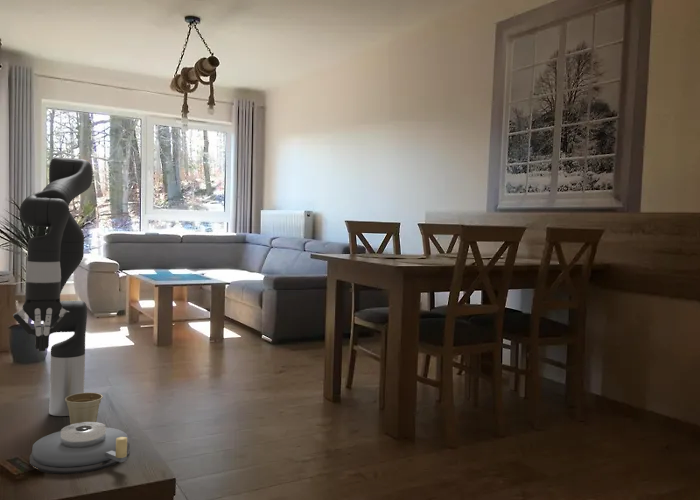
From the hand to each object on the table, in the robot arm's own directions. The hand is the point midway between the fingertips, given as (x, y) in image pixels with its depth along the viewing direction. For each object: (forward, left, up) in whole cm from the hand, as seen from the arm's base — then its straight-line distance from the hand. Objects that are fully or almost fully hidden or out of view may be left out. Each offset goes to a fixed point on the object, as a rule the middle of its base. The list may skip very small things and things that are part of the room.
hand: (41, 350), depth 140 cm
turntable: (+9, +10, -24) cm, 27 cm away
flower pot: (-13, +12, -25) cm, 31 cm away
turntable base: (+7, +8, -25) cm, 27 cm away
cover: (+7, +9, -22) cm, 24 cm away
